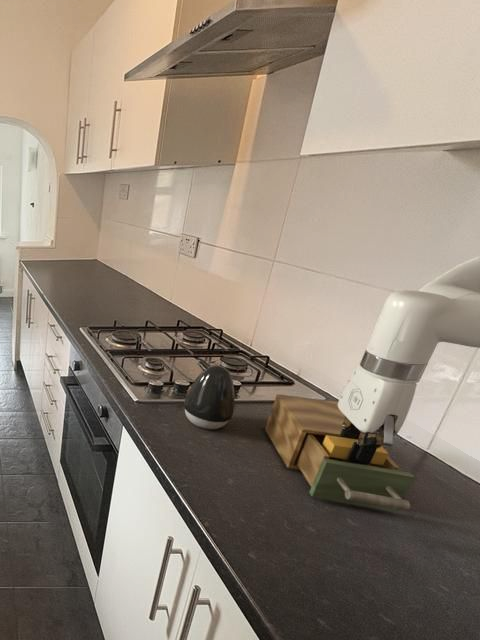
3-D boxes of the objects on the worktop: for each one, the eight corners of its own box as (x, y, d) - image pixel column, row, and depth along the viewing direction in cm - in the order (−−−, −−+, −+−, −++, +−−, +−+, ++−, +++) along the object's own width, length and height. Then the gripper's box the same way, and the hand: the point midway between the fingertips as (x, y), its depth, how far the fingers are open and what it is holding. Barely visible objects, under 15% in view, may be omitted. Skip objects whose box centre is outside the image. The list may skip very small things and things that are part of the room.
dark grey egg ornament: (201, 408, 106) (216, 354, 100) (238, 430, 97) (256, 372, 91) (170, 415, 103) (183, 360, 97) (205, 439, 94) (221, 379, 88)
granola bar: (372, 454, 77) (378, 442, 76) (383, 465, 74) (389, 453, 73) (321, 446, 79) (325, 434, 78) (329, 456, 76) (334, 445, 75)
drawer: (413, 534, 68) (435, 497, 65) (323, 516, 71) (340, 480, 68) (356, 464, 84) (370, 432, 81) (285, 453, 88) (296, 422, 85)
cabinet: (368, 482, 81) (388, 441, 77) (287, 468, 85) (302, 428, 81) (334, 440, 93) (349, 403, 90) (264, 429, 97) (276, 393, 93)
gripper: (340, 345, 77) (308, 427, 85) (392, 384, 63) (349, 480, 70) (390, 349, 75) (353, 434, 83) (456, 391, 61) (404, 489, 68)
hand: (351, 454), depth 76 cm, fingers closed on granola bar, 3 cm apart
